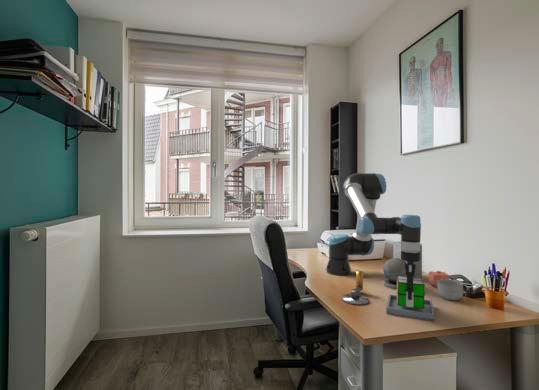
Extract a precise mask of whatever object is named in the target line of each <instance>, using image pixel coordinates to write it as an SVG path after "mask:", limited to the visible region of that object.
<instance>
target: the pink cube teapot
mask: <svg viewBox="0 0 539 390" xmlns="http://www.w3.org/2000/svg"><path fill="white" fill-rule="evenodd" d="M442 279H444V280H445V279H448V280H451V279H450V274H448V273H446V272H445V271H441V270H437V271H428V283H429V284H430V285H432V286H433V287H434V288H437V281H438V280H442ZM437 289H438V288H437Z"/></svg>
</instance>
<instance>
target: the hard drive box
mask: <svg viewBox="0 0 539 390" xmlns="http://www.w3.org/2000/svg"><path fill="white" fill-rule="evenodd" d="M401 251H402V250H401V240H399V241H392V258H399V259H401ZM419 252H420V261H418V262H414V263H413V264H415V276H413V278H421V279H422V278H423V245H422V246H420V251H419ZM405 262H406V264H407V261H405ZM422 280H423V279H422Z"/></svg>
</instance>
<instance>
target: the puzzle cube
mask: <svg viewBox="0 0 539 390" xmlns="http://www.w3.org/2000/svg"><path fill="white" fill-rule="evenodd" d="M405 289H407V277H401V276H397V289H396V295H397V303H398V305H399V306H406V291H405ZM411 289H412V288H411ZM413 290H414V293H413V307H414V308H421V309H424V299H425V283H424V281H423V279H421V278H413Z"/></svg>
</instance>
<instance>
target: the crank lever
mask: <svg viewBox="0 0 539 390" xmlns="http://www.w3.org/2000/svg"><path fill="white" fill-rule="evenodd" d="M355 276H356V277H355V278H356V279H355V280H356V281H355V288H353V289H351V290H350V294H351V297H352V298H356V299H358V298H360V295H361V292H362V291H363V290H364V289H363V288H364V271H362V270H356V275H355Z"/></svg>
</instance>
